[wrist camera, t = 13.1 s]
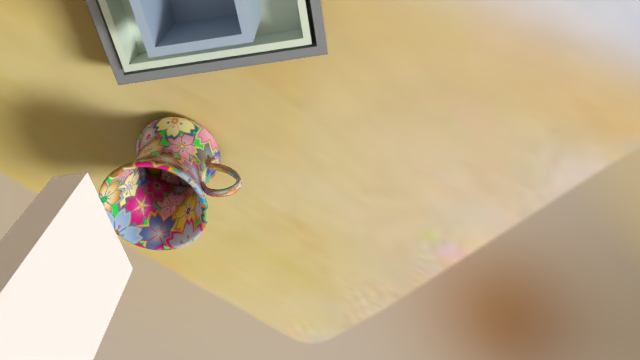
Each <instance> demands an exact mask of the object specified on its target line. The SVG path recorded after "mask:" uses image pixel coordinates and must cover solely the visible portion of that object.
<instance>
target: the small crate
mask: <svg viewBox="0 0 640 360" xmlns="http://www.w3.org/2000/svg"><path fill="white" fill-rule="evenodd" d="M129 1H130V4H131V7H132V10H133V13H134V16H135V19H136V22H137V25H138V28H139V31H140V33H141V36H142V39H143V42H144V45H145V48H146V51H147V54H148V57H149V58H151V57H158V56H165V55H171V54H178V53H184V52H191V51H197V50H204V49H211V48H217V47H224V46H230V45H237V44H243V43H250V42H253V41H254V38H255V35H256V32H257V29H258V26H259V23H260V19H261V16H262V15H261V10H260V5H259V1H258V0H129Z"/></svg>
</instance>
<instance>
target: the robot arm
mask: <svg viewBox="0 0 640 360" xmlns="http://www.w3.org/2000/svg"><path fill="white" fill-rule="evenodd" d="M132 270H133V268H132V266H131V264H130V262H129V260H128V258H127V255H126V253H125V251H124V249H123V247H122V245H121V243H120V241H119V238H118V236H117V234H116V232H115V230H114V228H113V226H112V224H111V221H110V219H109V217H108V215H107V213H106V211H105V209H104V206H103V204H102V202H101V200H100V198H99V196H98V194H97V192H96V189H95V187H94V185H93V183H92V181H91V179H90V177H89V175H88V172H86V173H79V174H71V175H64V176H57V177H52V179H51V180H50V181H49V182H48V183H47V185H46V186H45V187H44V188H43V189H42V191H41V192H40V193H39V194H38V196H37V197H36V198H35V199H34V200H33V202H32V203H31V204H30V205H29V206H28V208H27V209H26V210H25V211H24V213H23V214H22V215H21V216H20V217H19V219H18V220H17V221H16V222H15V224H14V225H13V226H12V227H11V228H10V230H9V231H8V232H7V233H6V234H5V236H4V237H3V238H2V239H1V241H0V360H93V359H94V356H95V354H96V352H97V350H98V347H99V345H100V343H101V340H102V338H103V336H104V334H105V331H106V329H107V327H108V324H109V322H110V320H111V318H112V315H113V313H114V311H115V308H116V306H117V304H118V302H119V299H120V297H121V294H122V292H123V290H124V288H125V285H126V283H127V281H128V279H129V276H130V274H131V272H132Z"/></svg>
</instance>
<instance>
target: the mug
mask: <svg viewBox="0 0 640 360" xmlns="http://www.w3.org/2000/svg"><path fill="white" fill-rule="evenodd" d="M136 154H137V158H136V159H135V161H133V162H132V163H129V164H126V165H123V166H121V167H119V168H117V169H116V170H114V171H113V172H112V173H110V174H109V175H108V176H107V178H106V179H105V180H104V182H103V184H102V186H101V188H100V191H99V198H100V200H101V202H102V204H103V206H104V209H105V211H106V213H107V215H108V217H109V219H110V221H111V224H112V226H113V228H114V230H115V232H116V234H117V235H119V236H120V237H121V238H123V239H125V240H126V241H128V242H130V243H132V244H134V245H137V246H140V247H143V248H147V249H152V250H171V249H176V248H180V247H183V246H185V245H187V244H189V243H191V242H192V241H194V240H195V239H196V238H197V237H198V236H199V235H200V234H201V233H202V232H203V230H204V228H205V226H206V224H207V220H208V205H207V201H206V198H205V196H204V194H203V191H204V192H205V193H206V194H207V195H209V196H213V197H224V196H228V195H231V194H233V193H235V192H237V191H238V190H239V189H240V188H241V184H242V182H241V178H240V176H239V174H238V173H237V172H236V171H234V170H233V169H231V168H230V167H227V166H225V165H221V164H220V152H219V148H218V145H217V143H216V141H215V139H214V138H213V136H212V135H211V134H210V133H209V132H208V131H207V130H206V129H205V128H204V127H202V126H201V125H199V124H198V123H196V122H194V121H191V120H189V119H185V118H181V117H165V118H160V119H157V120H155V121H153V122H151V123H150V124H148V125H147V126H146V127H145V128H144V129H143V130H142V131H141V133H140V135H139V137H138V139H137V144H136ZM217 171H221V172H225V173H227V174H229V175H231V176H233V177H234V178H235V179H236V180H237V182H236V183H235V184H234V185H233V186H231V187H228V188H225V189H219V190H216V189H210V188H208V187H206V185H205V184H206V183H207V182H209V181H210V180H211V179H212V178H213V177H214V175H215V174H216V172H217Z"/></svg>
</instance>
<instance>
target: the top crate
mask: <svg viewBox="0 0 640 360" xmlns="http://www.w3.org/2000/svg"><path fill="white" fill-rule="evenodd" d="M258 1H259V5H260V10H261V15H262V16H261V19H260V23H259V26H258V29H257V32H256V35H255V38H254V41H253V42H250V43H243V44H237V45H230V46H224V47H217V48H211V49H204V50H197V51H191V52H184V53H178V54H171V55H165V56H158V57H151V58H149V57H148V54H147V51H146V48H145V45H144V42H143V39H142V36H141V33H140V31H139V28H138V25H137V22H136V19H135V16H134V13H133V10H132V7H131V4H130V1H129V0H98V2H99V5H100V7H101V10H102V13H103V15H104V18H105V21H106V23H107V26H108V29H109V31H110V34H111V37H112V40H113V42H114V45H115V48H116V50H117V53H118V56H119V58H120V61H121V64H122V66H123V69H124V72H130V71H137V70H144V69H150V68H157V67H164V66H170V65H177V64H184V63H190V62H197V61H204V60H210V59H217V58H224V57H230V56H237V55H244V54H250V53H257V52H264V51H270V50H277V49H284V48H290V47H297V46H304V45H310V44H312V31H311V25H310V18H309V12H308V5H307V0H258Z"/></svg>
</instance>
